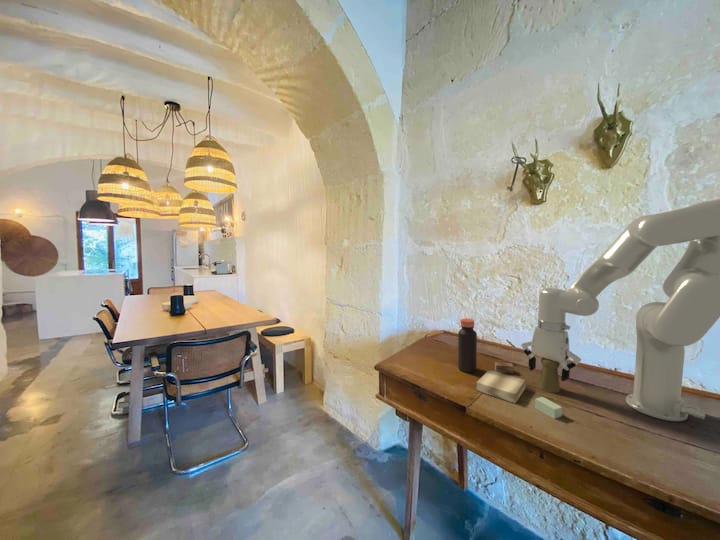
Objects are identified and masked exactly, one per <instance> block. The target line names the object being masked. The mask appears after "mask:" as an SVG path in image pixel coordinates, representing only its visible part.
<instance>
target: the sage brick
mask: <svg viewBox="0 0 720 540" xmlns="http://www.w3.org/2000/svg"><path fill="white" fill-rule="evenodd" d="M534 399H535V400H534V408H535V409H537V410H538V411H541V412H542V413H544V414H545V415H547V416H548V417H551V418H552V419H558V418H562V416H563V407H562V406H561V405H559V404H557V403H555V402H553V401H552V400H550V399H548V398H546V397H544V396H540V397H536V398H534Z"/></svg>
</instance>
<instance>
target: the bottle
mask: <svg viewBox="0 0 720 540" xmlns="http://www.w3.org/2000/svg"><path fill="white" fill-rule="evenodd" d="M460 327H461V329H460V330H459V331H458V332H457V333H458V335H457V336H458V339H457V341H458V345H457V346H458V349H457V351H458V353H457V356H458V357H457V358H458V359H457V360H458V361H457V362H458V363H457V365H458V369H459V371H461V372H463V373H468V374H472V373H475V372H477V361H478V360H477V359H478V358H477V355H478V352H477V351H478V349H477V347H478V345H477V343H478V341H477V339H478V338H477V337H478V335H477V332H476V330H475V329H474V328H475V320H474V319H472V318H461V319H460Z"/></svg>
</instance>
